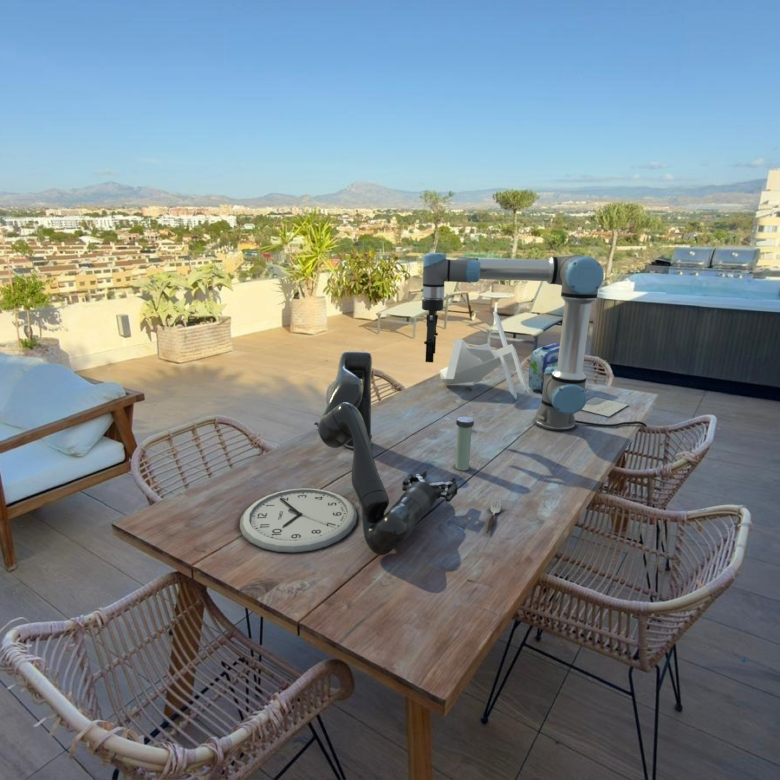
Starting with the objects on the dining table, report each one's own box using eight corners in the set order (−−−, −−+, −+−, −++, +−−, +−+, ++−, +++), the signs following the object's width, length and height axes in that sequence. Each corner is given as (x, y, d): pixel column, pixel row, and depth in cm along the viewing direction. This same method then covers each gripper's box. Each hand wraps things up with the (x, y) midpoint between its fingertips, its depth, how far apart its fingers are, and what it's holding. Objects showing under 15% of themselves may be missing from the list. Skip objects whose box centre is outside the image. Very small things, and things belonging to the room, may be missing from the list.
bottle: (470, 466, 168) (473, 419, 163) (467, 471, 164) (470, 424, 159) (457, 463, 169) (459, 417, 164) (454, 469, 165) (456, 422, 161)
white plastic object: (461, 429, 252) (437, 405, 227) (444, 352, 274) (420, 323, 250) (535, 404, 240) (518, 377, 215) (510, 326, 262) (492, 293, 237)
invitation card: (608, 416, 214) (573, 407, 224) (608, 416, 214) (573, 408, 224) (628, 404, 229) (594, 396, 238) (628, 405, 229) (594, 397, 238)
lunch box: (544, 395, 239) (549, 351, 233) (524, 390, 247) (528, 347, 240) (571, 384, 257) (577, 343, 251) (552, 380, 264) (556, 339, 258)
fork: (481, 533, 130) (482, 526, 130) (492, 503, 145) (493, 497, 144) (492, 535, 130) (492, 528, 129) (501, 505, 144) (502, 499, 143)
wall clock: (358, 544, 122) (227, 548, 120) (358, 550, 123) (228, 554, 120) (355, 484, 151) (250, 486, 148) (355, 489, 151) (250, 491, 149)
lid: (474, 422, 164) (475, 417, 163) (471, 428, 159) (472, 423, 159) (458, 420, 165) (458, 415, 165) (454, 426, 161) (454, 421, 160)
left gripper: (443, 495, 129) (464, 469, 143) (391, 482, 135) (416, 459, 149) (441, 521, 131) (462, 494, 145) (390, 508, 137) (415, 482, 151)
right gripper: (424, 293, 195) (422, 349, 202) (419, 303, 172) (417, 365, 178) (444, 294, 194) (442, 350, 201) (442, 303, 171) (439, 366, 177)
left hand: (439, 476), depth 147 cm, fingers open, 8 cm apart
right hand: (430, 357), depth 189 cm, fingers open, 13 cm apart
